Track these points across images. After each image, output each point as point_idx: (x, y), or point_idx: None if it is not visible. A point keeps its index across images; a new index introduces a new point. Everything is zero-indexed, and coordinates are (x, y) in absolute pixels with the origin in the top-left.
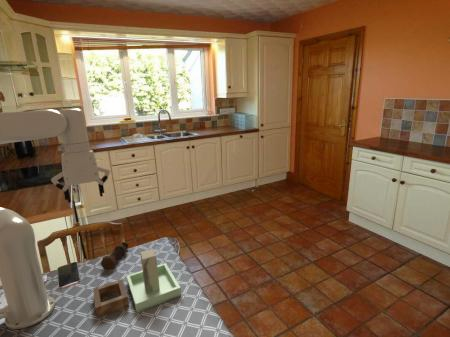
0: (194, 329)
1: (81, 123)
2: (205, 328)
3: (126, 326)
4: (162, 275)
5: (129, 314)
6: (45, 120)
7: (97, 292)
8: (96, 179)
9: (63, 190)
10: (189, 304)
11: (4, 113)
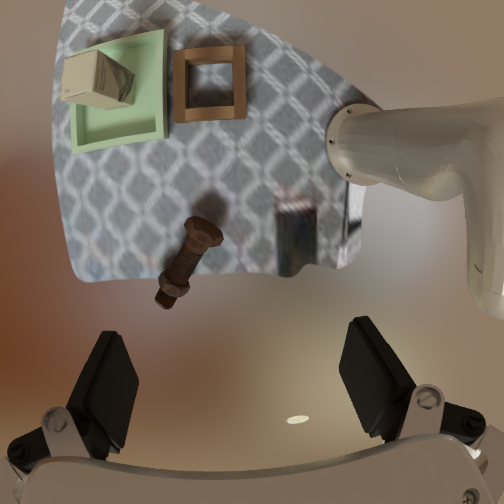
0: None
1: None
2: None
3: (194, 13)
4: (92, 128)
5: (182, 36)
6: None
7: (237, 94)
8: (49, 463)
9: (428, 393)
10: (81, 32)
11: None
